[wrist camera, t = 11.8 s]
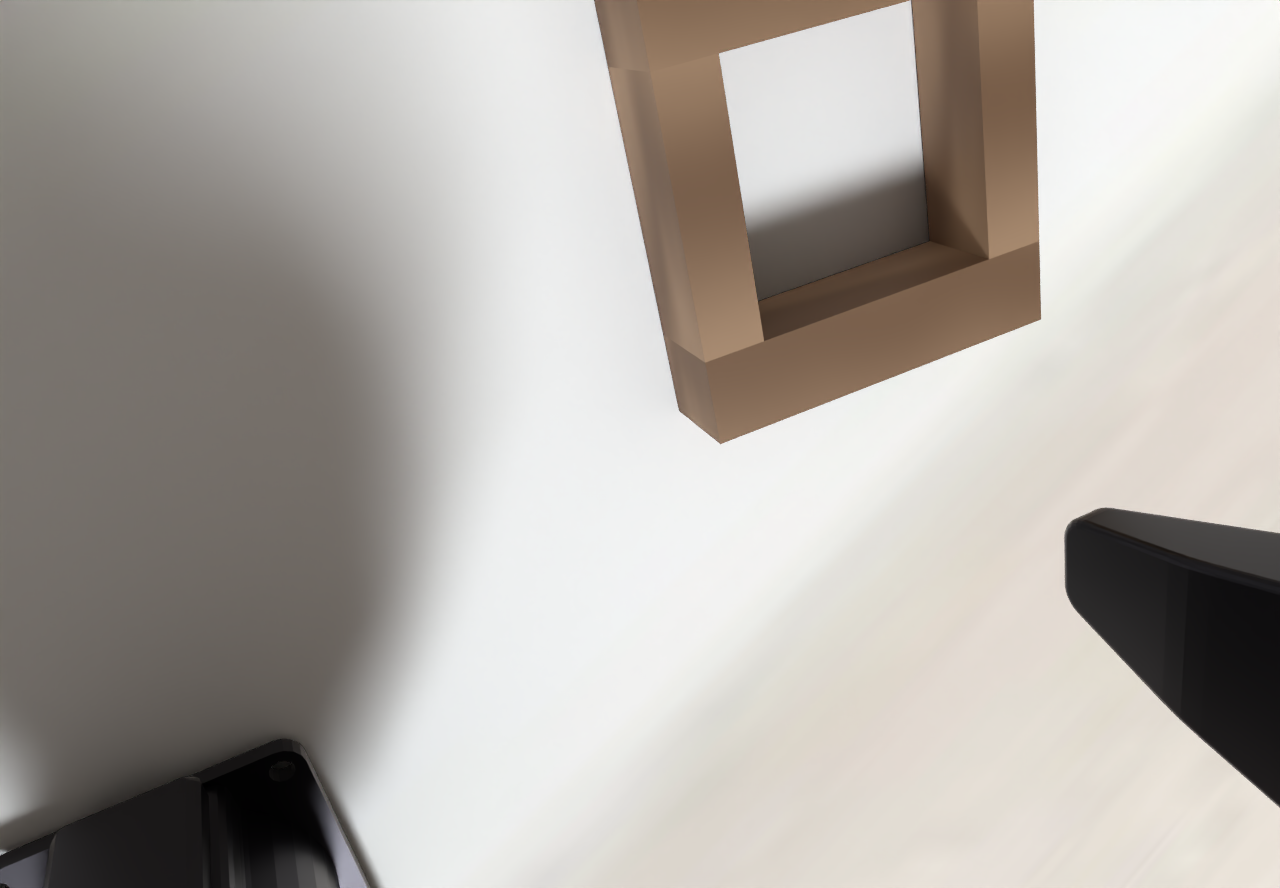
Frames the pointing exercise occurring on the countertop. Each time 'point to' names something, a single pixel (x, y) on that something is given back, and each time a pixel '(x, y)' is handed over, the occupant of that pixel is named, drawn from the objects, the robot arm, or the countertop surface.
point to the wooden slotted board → (856, 298)
